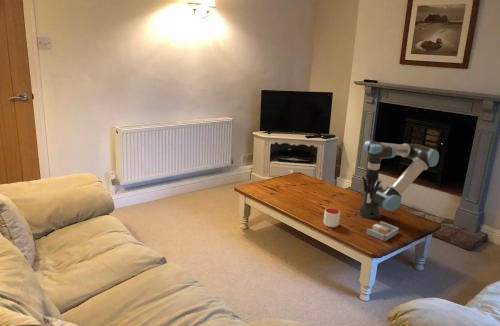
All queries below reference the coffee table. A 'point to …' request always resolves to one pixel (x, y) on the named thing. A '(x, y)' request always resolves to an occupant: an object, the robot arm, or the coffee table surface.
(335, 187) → the coffee table surface
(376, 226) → the tile rear
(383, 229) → the tile front
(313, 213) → the coffee table surface
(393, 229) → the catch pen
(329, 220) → the cup
